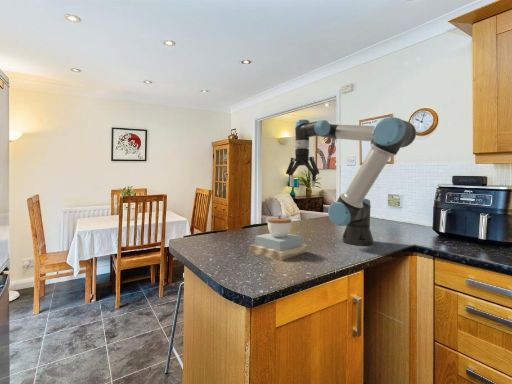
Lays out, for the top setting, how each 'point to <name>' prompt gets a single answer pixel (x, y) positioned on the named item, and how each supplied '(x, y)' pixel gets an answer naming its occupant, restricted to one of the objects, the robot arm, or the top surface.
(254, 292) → the top surface
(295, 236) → the tower top
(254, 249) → the tower base
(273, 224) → the lidded jar
